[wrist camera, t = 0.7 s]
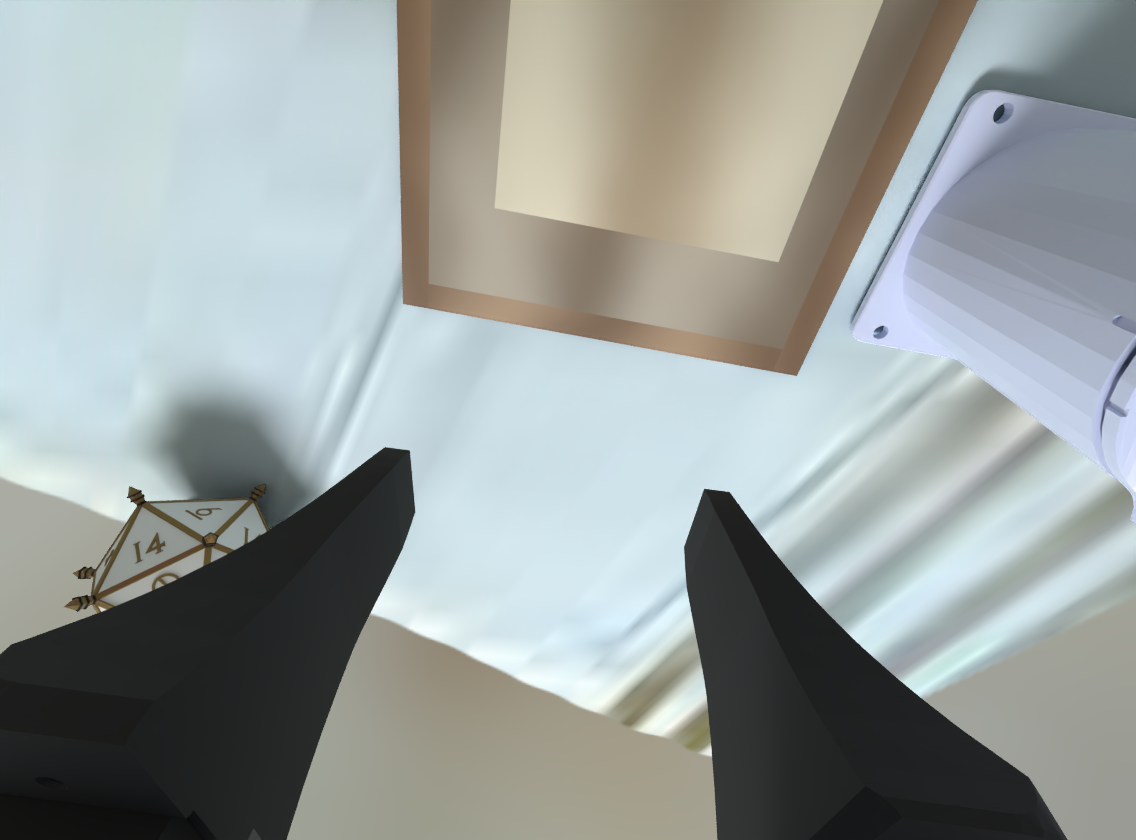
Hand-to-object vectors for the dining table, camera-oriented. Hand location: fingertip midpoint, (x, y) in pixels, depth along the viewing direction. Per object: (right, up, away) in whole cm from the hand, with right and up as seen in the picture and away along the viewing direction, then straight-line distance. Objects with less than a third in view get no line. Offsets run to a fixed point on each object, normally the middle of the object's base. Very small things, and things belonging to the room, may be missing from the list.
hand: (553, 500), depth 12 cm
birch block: (+3, +13, +3) cm, 13 cm away
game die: (-17, -3, +15) cm, 23 cm away
